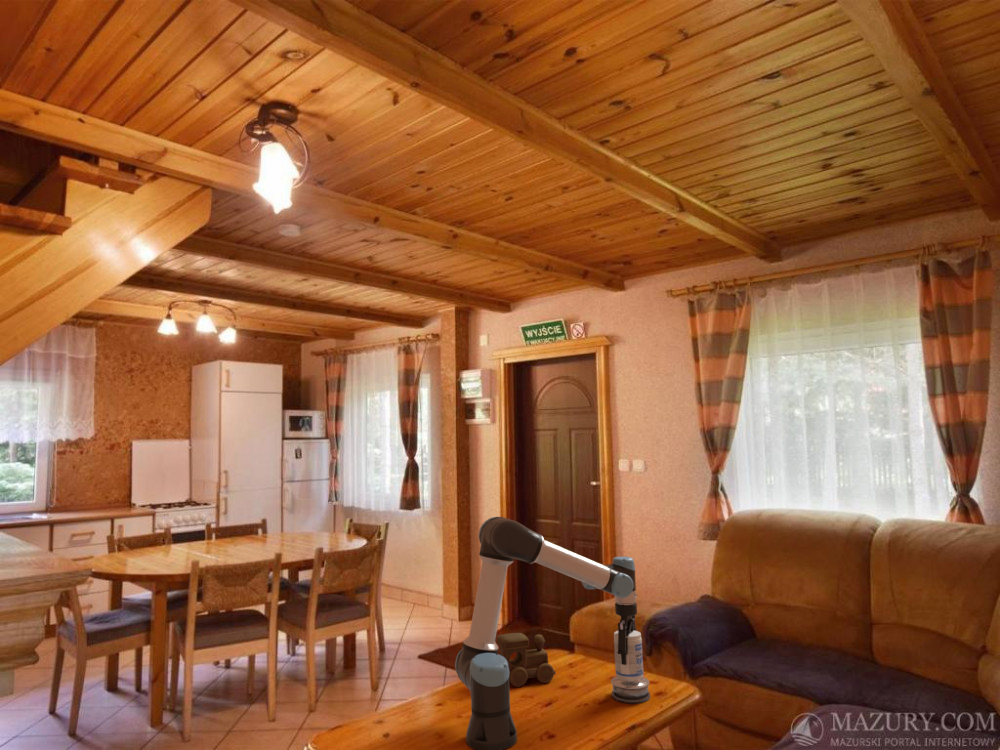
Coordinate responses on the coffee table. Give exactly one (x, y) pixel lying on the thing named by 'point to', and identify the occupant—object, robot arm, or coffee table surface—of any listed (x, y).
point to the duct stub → (630, 690)
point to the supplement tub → (630, 657)
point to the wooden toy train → (525, 658)
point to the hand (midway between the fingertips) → (629, 669)
